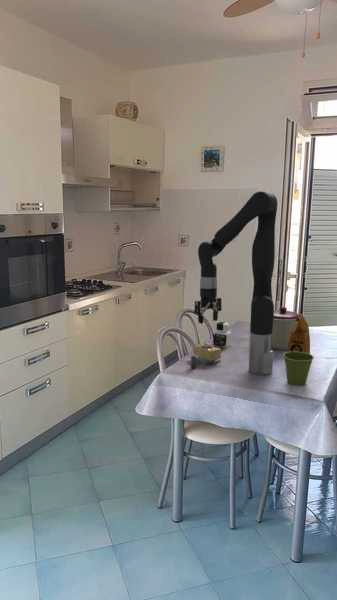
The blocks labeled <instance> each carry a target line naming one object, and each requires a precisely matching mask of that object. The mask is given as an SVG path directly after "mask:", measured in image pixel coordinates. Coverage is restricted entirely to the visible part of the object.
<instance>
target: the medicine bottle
mask: <svg viewBox="0 0 337 600" xmlns="http://www.w3.org/2000/svg"><path fill="white" fill-rule="evenodd" d="M229 325H230V324H229V323H228V322H226V321H225V322H224V321H219V322H216V331H214V332H213V335H212V336H213V338H212V346H213V347H215V346H216V348H221V347H222V348H223V349H227V348H228V347H230V346H231V345H232V331H230V330H229ZM222 348H221V349H222Z"/></svg>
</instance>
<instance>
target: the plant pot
mask: <svg viewBox="0 0 337 600" xmlns="http://www.w3.org/2000/svg"><path fill="white" fill-rule="evenodd" d="M282 356H283V358H284V362H285V363H284V364H285V371H286V381H287V382H288V383H289V384H290V385H293V386H305V385H306V384H307V380H308V377H309V373H310V369H311V365H312V363H313V360H314V359H315V357H314V355H312V354H311V353H310V354H308V353H304V352H288V351H286V352H284V353H283V354H282Z"/></svg>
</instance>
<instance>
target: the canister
mask: <svg viewBox="0 0 337 600" xmlns="http://www.w3.org/2000/svg"><path fill="white" fill-rule="evenodd" d="M299 314H300V313H298V312H294V311H290V310H287V307H286V306H280V307H279V310H278V309H277V310H274V318H273V330H272V349H274V350H278V351H288V341H289V337H290V334H291V332H292V329H293V327H294V326H295V324H296V323H297V322H298V321H295V320H296V319H297V318H299V317H298V316H299Z"/></svg>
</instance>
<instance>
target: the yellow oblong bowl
mask: <svg viewBox="0 0 337 600" xmlns="http://www.w3.org/2000/svg"><path fill="white" fill-rule="evenodd" d="M192 349H193V354H192V355H195V356H197V357H198V356H199V357H201V358H204V359H207V360H209V361H213V360H217V359H218V360H221V356H222V355H221V353H222V348H220V347H215V346H213V345H210V344H209V349H205V348H204V343H202V342H201V343H198V344H193V347H192Z"/></svg>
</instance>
